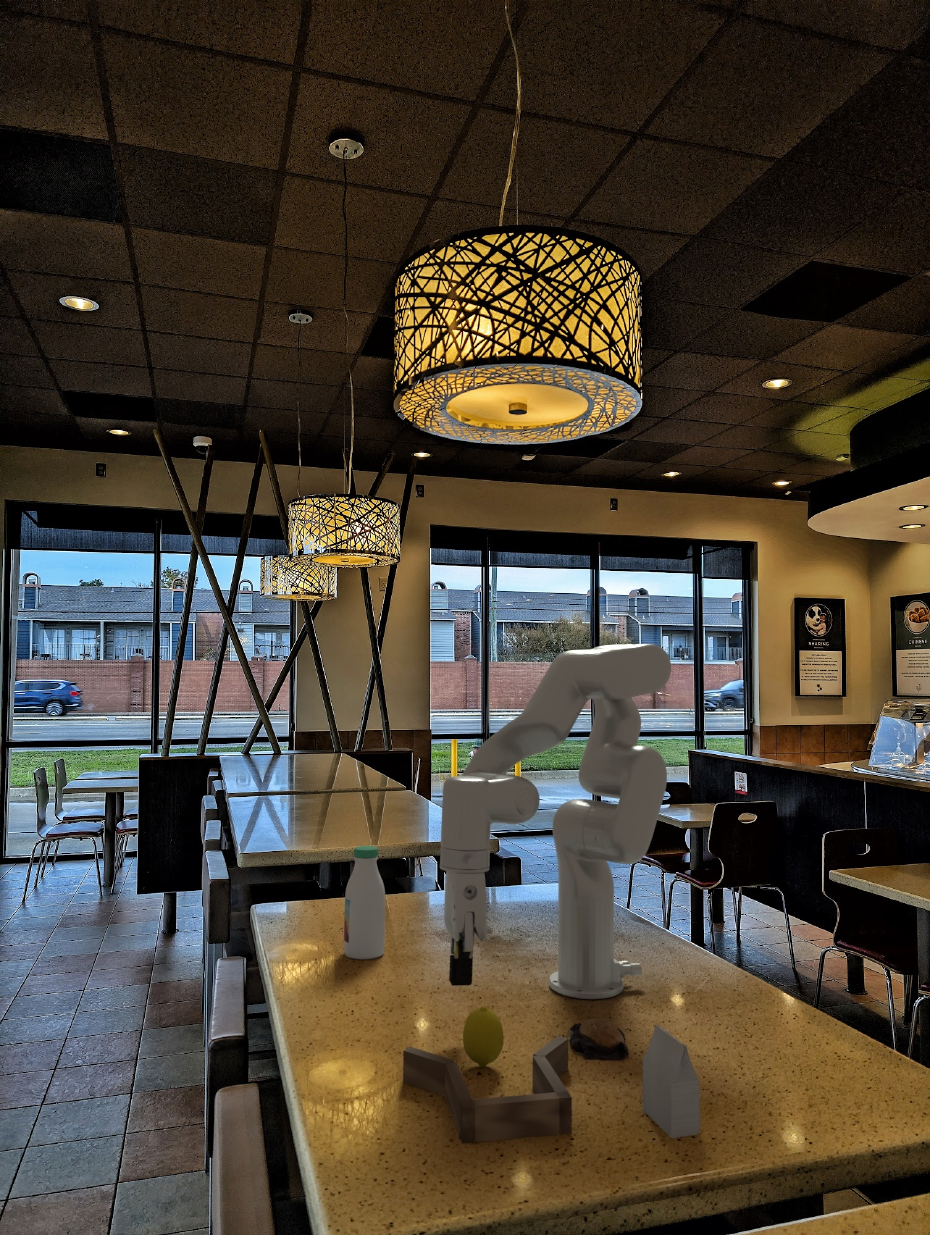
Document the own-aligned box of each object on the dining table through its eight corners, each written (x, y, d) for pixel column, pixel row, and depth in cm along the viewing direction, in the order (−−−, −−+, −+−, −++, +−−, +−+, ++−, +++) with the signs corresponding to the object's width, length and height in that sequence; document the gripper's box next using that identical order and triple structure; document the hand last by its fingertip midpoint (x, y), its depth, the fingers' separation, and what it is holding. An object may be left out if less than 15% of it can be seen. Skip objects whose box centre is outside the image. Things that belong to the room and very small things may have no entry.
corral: (565, 1065, 118) (565, 1035, 118) (610, 1129, 101) (610, 1093, 102) (401, 1078, 114) (402, 1047, 114) (420, 1147, 97) (421, 1110, 97)
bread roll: (564, 1034, 130) (564, 1008, 131) (620, 1033, 131) (619, 1008, 131) (574, 1065, 120) (574, 1037, 120) (635, 1064, 120) (635, 1037, 120)
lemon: (499, 1078, 114) (500, 1016, 115) (458, 1074, 115) (459, 1012, 116) (506, 1060, 120) (506, 1000, 120) (467, 1056, 121) (467, 997, 121)
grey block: (671, 1138, 100) (671, 1048, 100) (642, 1110, 106) (642, 1026, 107) (699, 1133, 101) (698, 1045, 101) (669, 1106, 107) (669, 1023, 108)
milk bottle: (391, 951, 167) (393, 845, 168) (371, 963, 160) (373, 852, 161) (357, 945, 170) (359, 842, 172) (335, 957, 163) (337, 849, 165)
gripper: (500, 868, 125) (496, 1000, 123) (478, 850, 140) (474, 967, 138) (449, 868, 124) (444, 1001, 122) (432, 850, 138) (428, 968, 137)
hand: (460, 983), depth 130 cm, fingers closed
